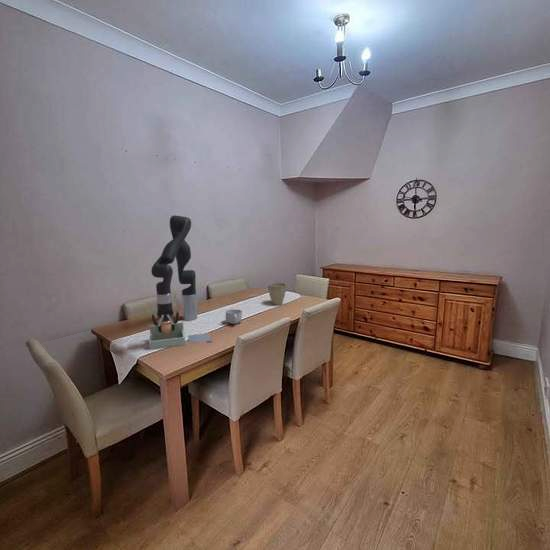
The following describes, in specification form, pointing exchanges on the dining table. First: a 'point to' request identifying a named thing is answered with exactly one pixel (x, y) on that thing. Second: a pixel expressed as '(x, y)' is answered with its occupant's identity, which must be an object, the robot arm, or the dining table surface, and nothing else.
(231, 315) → the teacup
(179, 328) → the cold frame
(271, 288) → the plant pot
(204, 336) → the slate tile
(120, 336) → the dining table surface
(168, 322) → the pot
